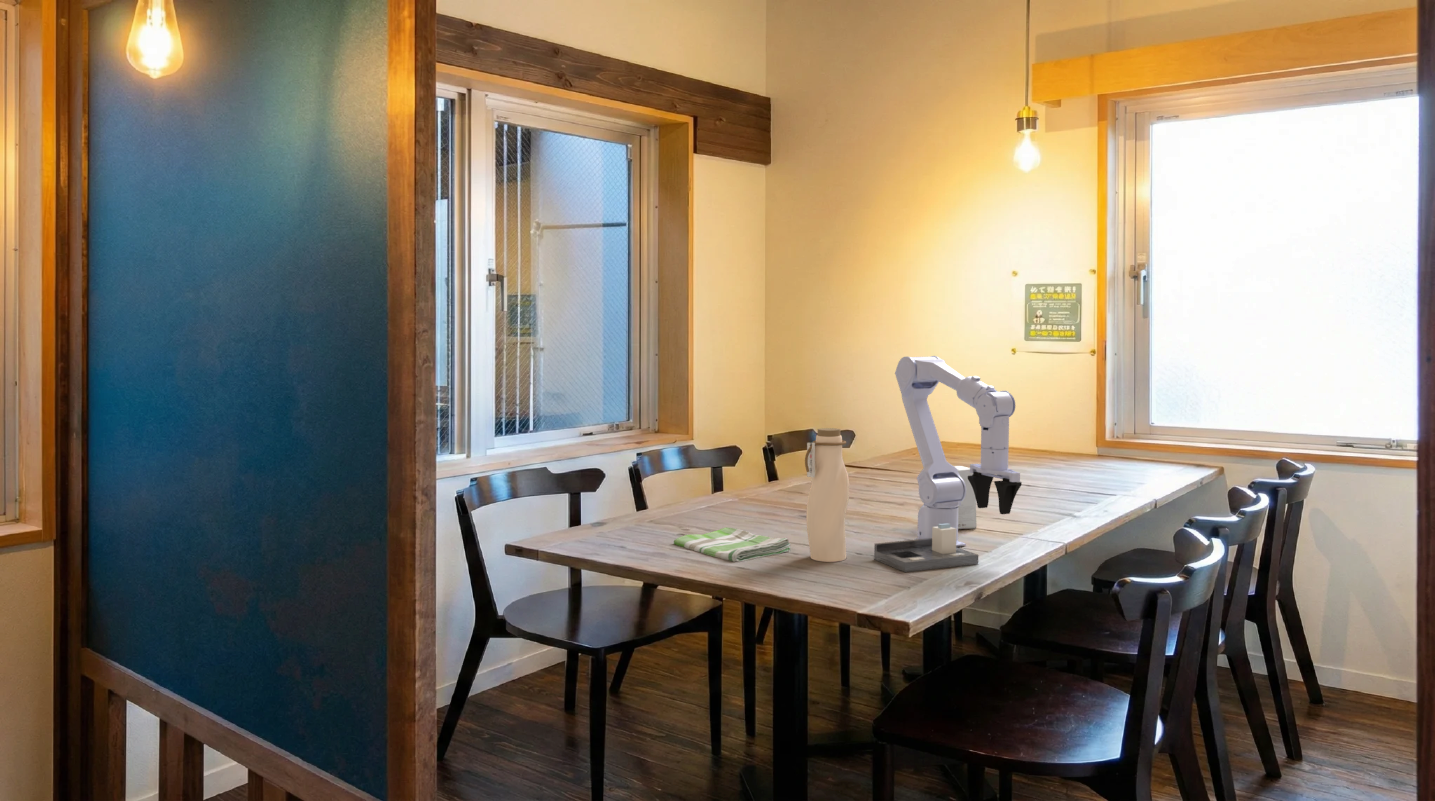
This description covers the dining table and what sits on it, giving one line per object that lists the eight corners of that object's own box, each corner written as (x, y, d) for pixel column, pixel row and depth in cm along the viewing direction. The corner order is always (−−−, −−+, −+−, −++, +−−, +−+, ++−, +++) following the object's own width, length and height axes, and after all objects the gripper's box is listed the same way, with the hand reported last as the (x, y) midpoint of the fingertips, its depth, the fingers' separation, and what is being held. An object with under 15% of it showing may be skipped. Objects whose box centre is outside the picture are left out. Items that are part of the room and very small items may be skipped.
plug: (931, 559, 215) (932, 523, 214) (945, 557, 216) (946, 521, 216) (941, 562, 212) (942, 526, 211) (955, 561, 213) (956, 525, 212)
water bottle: (822, 565, 209) (823, 432, 207) (794, 557, 216) (794, 429, 214) (858, 558, 215) (858, 429, 213) (829, 551, 222) (830, 426, 220)
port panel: (874, 559, 214) (874, 543, 214) (944, 552, 221) (945, 536, 221) (905, 572, 203) (905, 555, 203) (978, 564, 210) (978, 547, 210)
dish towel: (734, 565, 212) (734, 548, 212) (671, 546, 230) (671, 531, 230) (793, 553, 223) (793, 538, 222) (729, 536, 241) (729, 522, 240)
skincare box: (976, 528, 246) (977, 469, 245) (954, 529, 245) (955, 469, 244) (962, 522, 254) (963, 464, 253) (940, 523, 253) (940, 465, 252)
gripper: (958, 445, 218) (957, 506, 219) (1000, 452, 205) (999, 518, 206) (985, 443, 221) (984, 504, 222) (1028, 451, 208) (1027, 515, 209)
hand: (993, 510), depth 214 cm, fingers open, 7 cm apart
